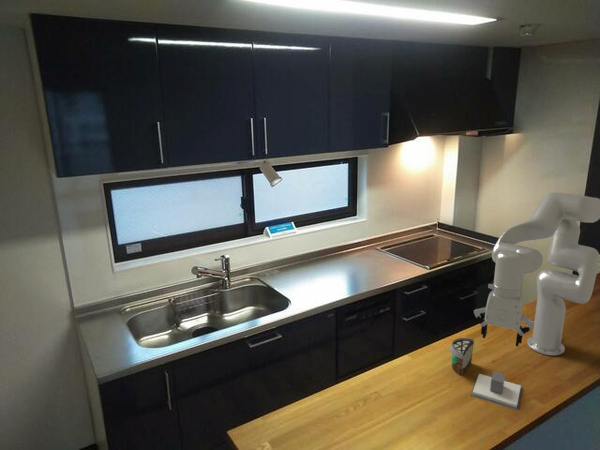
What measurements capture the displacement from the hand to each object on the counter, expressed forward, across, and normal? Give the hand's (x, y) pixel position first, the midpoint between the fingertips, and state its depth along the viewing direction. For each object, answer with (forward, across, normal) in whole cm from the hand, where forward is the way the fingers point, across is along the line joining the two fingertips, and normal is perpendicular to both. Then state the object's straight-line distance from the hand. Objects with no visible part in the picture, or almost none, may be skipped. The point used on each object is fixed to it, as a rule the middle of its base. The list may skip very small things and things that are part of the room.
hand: (500, 340), depth 135 cm
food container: (+20, -13, +8) cm, 25 cm away
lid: (+19, +1, 0) cm, 19 cm away
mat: (+19, +1, 0) cm, 19 cm away
